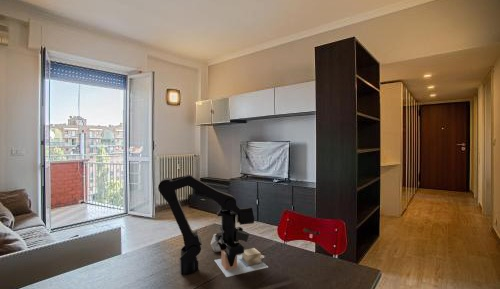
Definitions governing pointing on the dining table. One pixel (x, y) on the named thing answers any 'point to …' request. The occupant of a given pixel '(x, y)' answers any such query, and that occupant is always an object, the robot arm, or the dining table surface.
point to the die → (215, 244)
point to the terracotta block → (225, 261)
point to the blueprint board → (240, 267)
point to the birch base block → (251, 256)
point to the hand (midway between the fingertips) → (229, 263)
